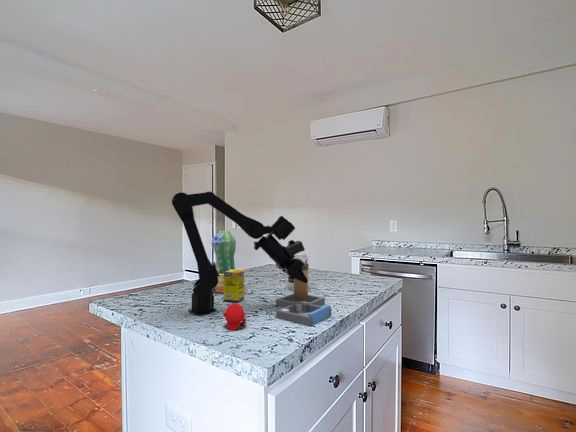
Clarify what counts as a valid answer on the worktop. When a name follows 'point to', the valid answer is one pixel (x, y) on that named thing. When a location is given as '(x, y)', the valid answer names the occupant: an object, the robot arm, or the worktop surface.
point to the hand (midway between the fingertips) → (304, 280)
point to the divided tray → (303, 310)
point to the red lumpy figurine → (234, 316)
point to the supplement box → (233, 285)
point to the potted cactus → (224, 255)
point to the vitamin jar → (301, 286)
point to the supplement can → (304, 259)
